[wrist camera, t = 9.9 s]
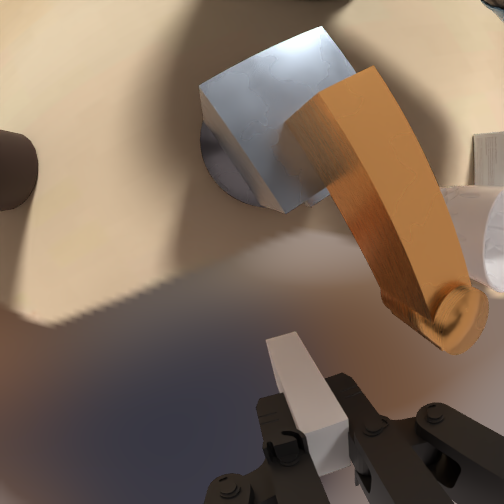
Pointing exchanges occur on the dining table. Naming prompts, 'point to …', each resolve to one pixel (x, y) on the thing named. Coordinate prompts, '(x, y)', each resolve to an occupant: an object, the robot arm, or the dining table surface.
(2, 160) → the bottle
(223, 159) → the dark grey cylinder
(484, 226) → the white cup
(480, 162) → the supplement box
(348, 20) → the dining table surface
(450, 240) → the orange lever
